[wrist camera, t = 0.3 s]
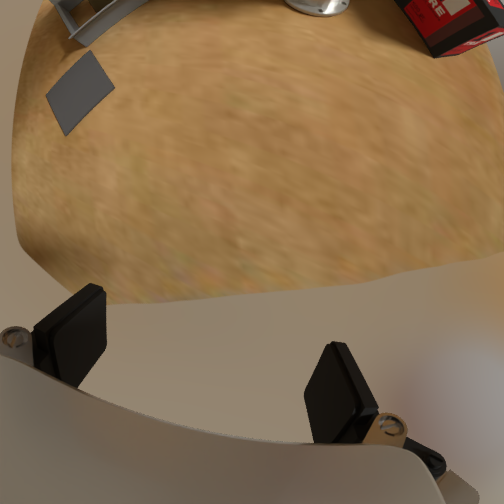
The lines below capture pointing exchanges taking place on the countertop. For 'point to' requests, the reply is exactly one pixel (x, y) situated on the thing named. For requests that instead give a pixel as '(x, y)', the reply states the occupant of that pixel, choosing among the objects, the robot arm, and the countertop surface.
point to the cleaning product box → (454, 23)
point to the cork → (99, 4)
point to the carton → (94, 18)
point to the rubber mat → (78, 91)
